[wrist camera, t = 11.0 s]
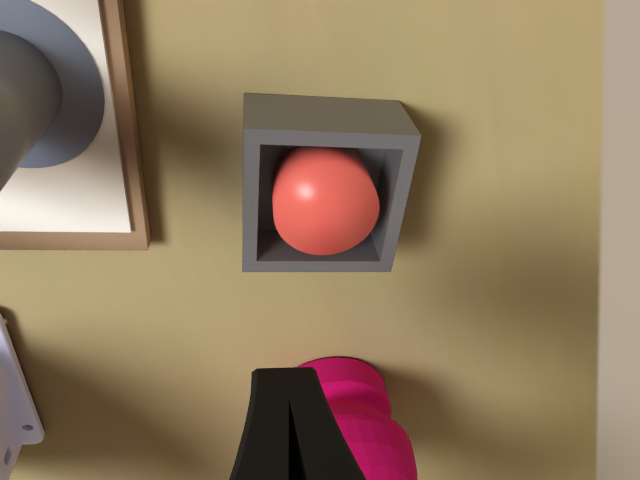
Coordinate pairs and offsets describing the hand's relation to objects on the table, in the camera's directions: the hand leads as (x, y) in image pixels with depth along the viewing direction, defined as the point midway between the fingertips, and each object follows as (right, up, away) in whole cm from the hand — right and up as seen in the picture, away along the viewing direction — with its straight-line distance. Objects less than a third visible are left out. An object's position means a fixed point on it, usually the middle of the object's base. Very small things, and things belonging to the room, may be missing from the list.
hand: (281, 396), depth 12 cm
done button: (+1, +6, +7) cm, 9 cm away
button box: (+1, +6, +8) cm, 11 cm away
